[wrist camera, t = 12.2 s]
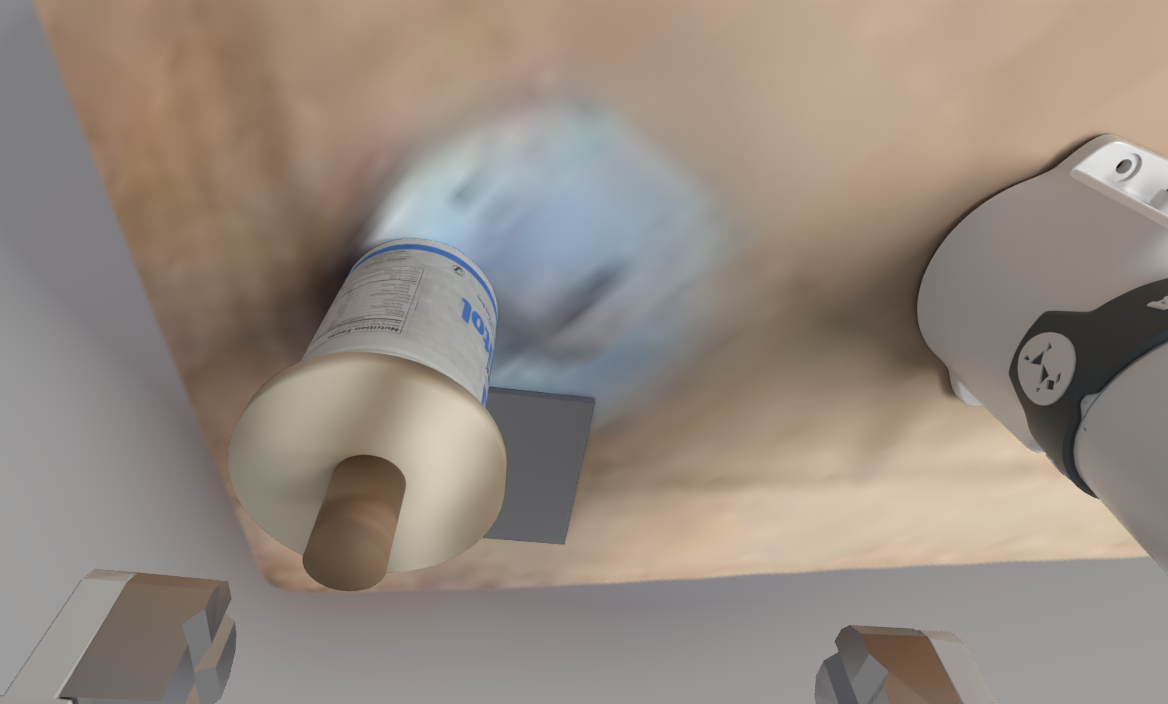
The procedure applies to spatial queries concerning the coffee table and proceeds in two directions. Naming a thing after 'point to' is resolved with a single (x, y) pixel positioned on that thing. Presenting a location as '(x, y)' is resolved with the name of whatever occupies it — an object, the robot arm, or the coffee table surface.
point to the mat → (539, 461)
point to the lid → (368, 466)
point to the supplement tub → (416, 311)
